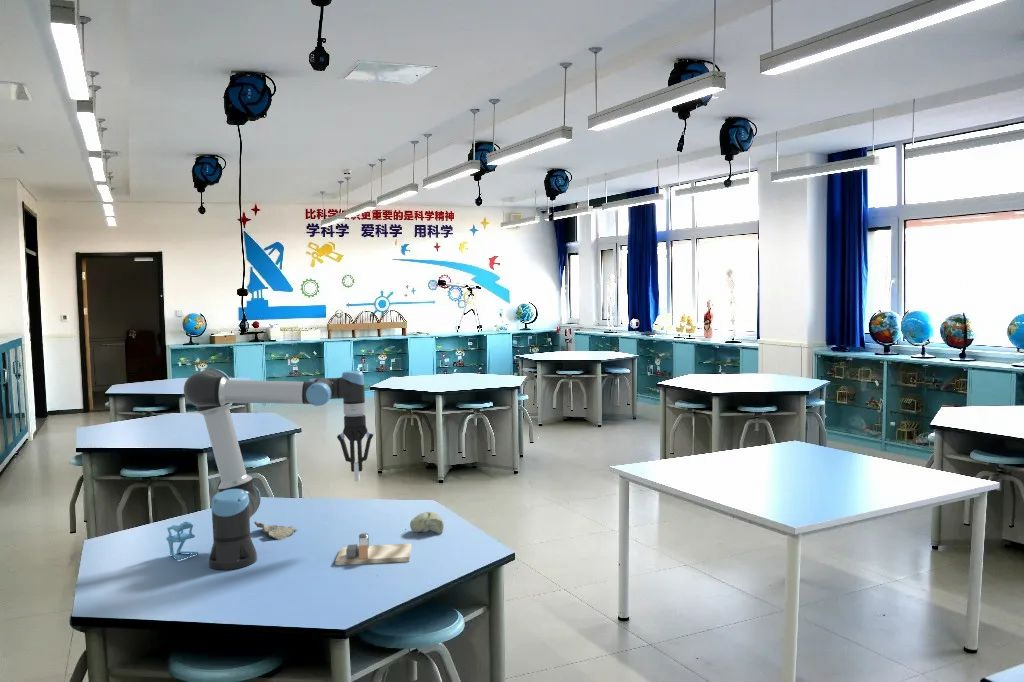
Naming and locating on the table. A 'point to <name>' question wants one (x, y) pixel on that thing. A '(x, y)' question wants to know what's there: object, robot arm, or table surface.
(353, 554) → the block
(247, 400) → the robot arm
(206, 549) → the table surface
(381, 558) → the plate
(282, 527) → the dried leaf
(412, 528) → the seashell
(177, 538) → the chair
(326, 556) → the table surface
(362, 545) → the bar
